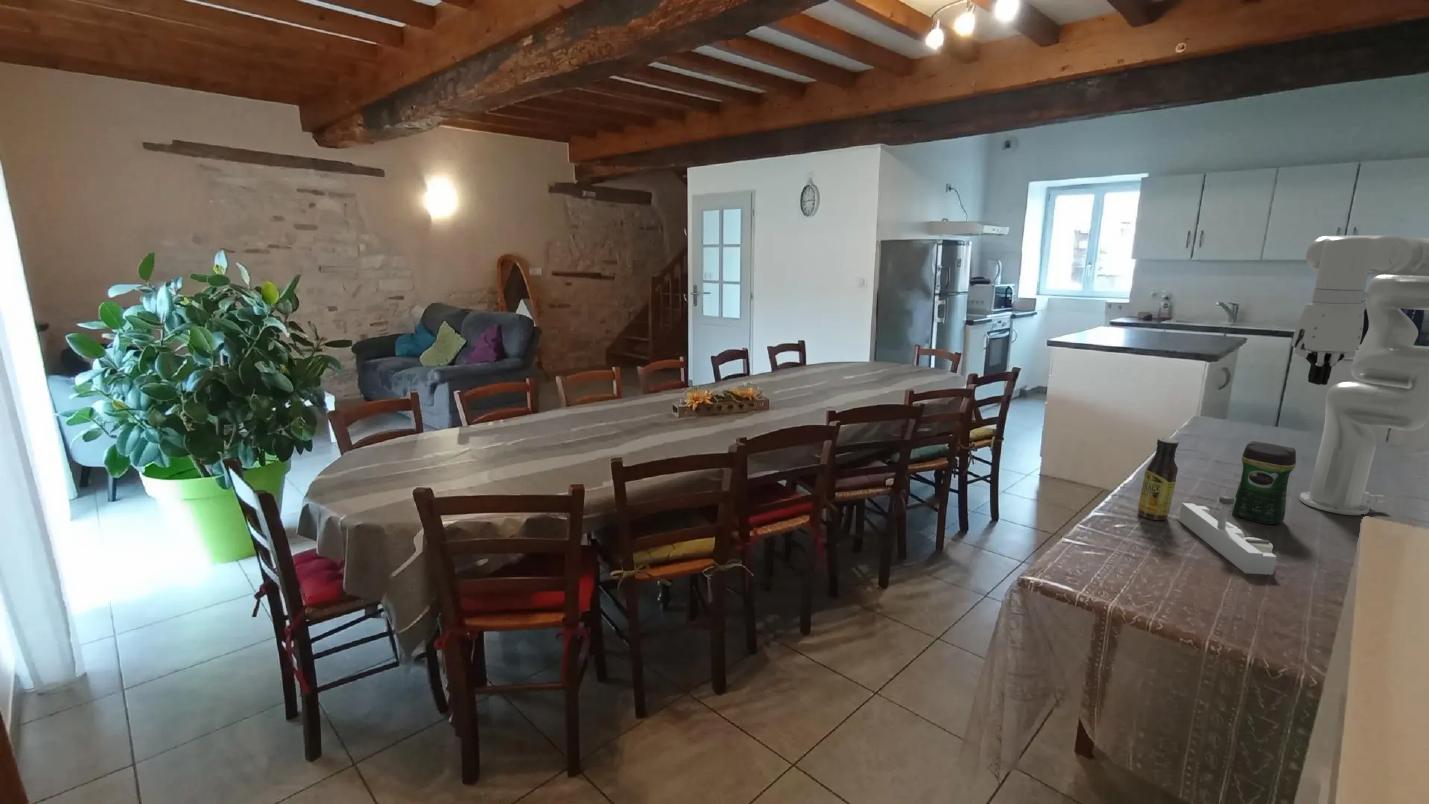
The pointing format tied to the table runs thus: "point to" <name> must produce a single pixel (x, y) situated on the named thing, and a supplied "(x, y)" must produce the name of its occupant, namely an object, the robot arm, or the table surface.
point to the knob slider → (1260, 544)
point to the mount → (1226, 537)
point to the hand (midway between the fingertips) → (1317, 383)
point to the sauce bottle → (1159, 481)
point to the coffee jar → (1264, 482)
